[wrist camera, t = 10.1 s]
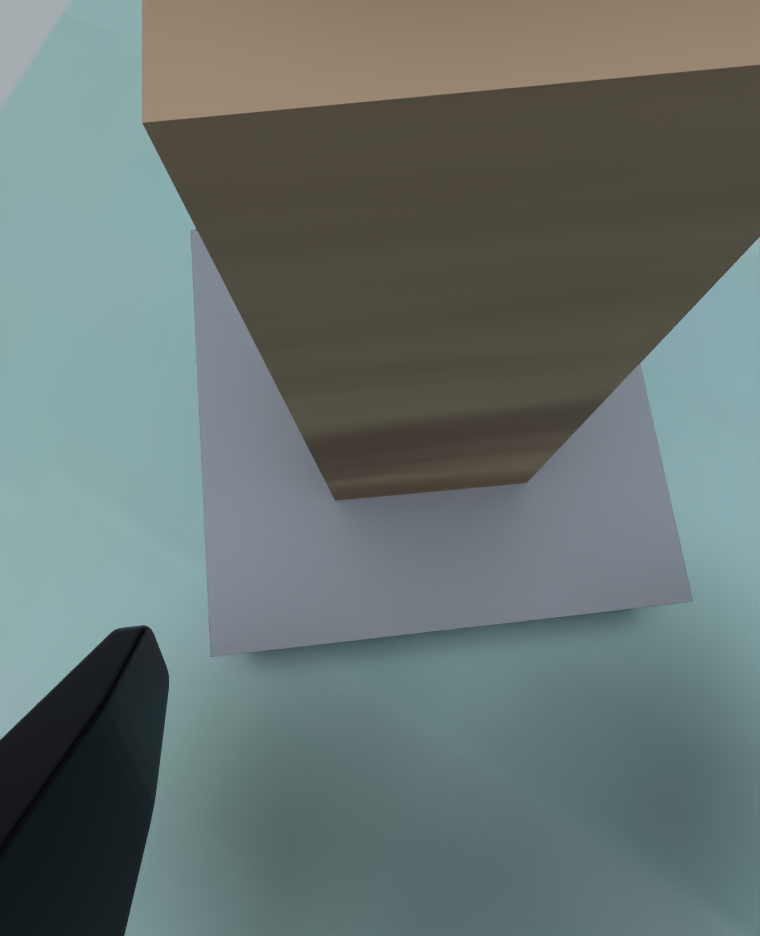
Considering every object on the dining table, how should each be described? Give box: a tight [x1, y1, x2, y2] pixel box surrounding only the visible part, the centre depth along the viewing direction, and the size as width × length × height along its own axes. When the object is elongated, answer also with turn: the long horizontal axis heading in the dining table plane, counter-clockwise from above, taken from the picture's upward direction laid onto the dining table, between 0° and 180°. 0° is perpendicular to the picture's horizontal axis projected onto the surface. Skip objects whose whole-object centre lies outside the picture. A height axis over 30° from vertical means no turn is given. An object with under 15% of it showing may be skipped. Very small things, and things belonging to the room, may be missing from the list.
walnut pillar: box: [142, 0, 760, 501], centre depth 11 cm, size 5×5×13 cm
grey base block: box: [191, 229, 693, 657], centre depth 19 cm, size 12×12×4 cm
